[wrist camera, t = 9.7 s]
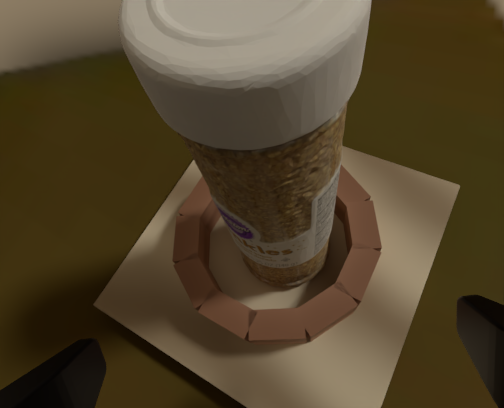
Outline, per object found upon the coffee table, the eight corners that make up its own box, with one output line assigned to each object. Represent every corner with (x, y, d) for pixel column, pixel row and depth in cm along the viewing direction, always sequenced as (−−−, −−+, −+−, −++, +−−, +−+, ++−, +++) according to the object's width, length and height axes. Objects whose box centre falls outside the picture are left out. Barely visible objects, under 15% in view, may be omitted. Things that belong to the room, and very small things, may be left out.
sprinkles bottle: (226, 267, 18) (55, 42, 6) (264, 194, 19) (190, -103, 7) (311, 306, 16) (312, 109, 4) (345, 222, 18) (412, -89, 6)
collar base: (352, 473, 14) (361, 494, 11) (103, 308, 19) (69, 297, 16) (453, 194, 19) (476, 164, 16) (232, 118, 23) (222, 84, 21)
